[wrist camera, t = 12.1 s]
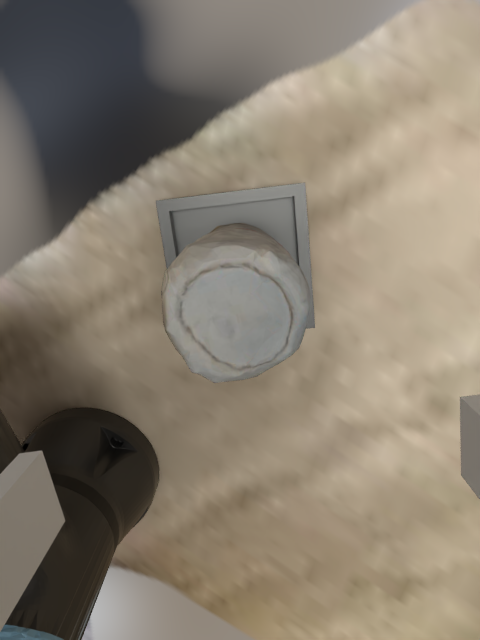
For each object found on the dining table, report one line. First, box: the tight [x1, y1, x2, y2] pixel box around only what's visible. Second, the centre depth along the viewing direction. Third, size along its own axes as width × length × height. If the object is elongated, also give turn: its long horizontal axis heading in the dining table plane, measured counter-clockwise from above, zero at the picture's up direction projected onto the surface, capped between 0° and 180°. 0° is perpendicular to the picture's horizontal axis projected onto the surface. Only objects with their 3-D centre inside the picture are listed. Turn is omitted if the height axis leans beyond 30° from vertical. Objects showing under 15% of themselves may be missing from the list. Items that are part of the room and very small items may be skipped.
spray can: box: [161, 223, 311, 383], centre depth 29 cm, size 8×8×20 cm
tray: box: [156, 183, 315, 328], centre depth 38 cm, size 13×13×2 cm
